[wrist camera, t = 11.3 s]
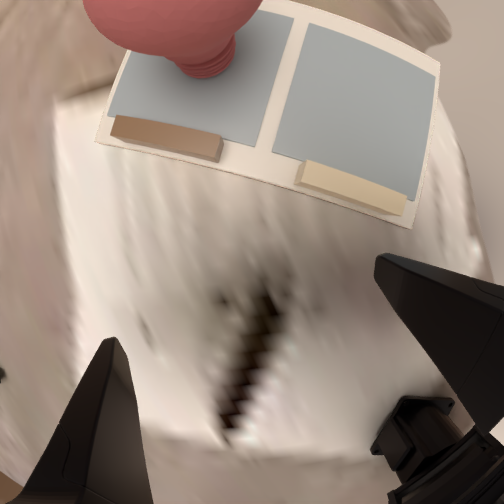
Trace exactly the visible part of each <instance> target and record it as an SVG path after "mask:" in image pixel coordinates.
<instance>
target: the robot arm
mask: <svg viewBox="0 0 504 504" xmlns="http://www.w3.org/2000/svg"><path fill="white" fill-rule="evenodd" d="M374 279H375V281H376V283H377V284H378V286H379V287H380V289H381V290H382V292H383V293H384V295H385V297H386V298H387V300H388V301H389V303H390V304H391V306H392V307H393V309H394V310H395V312H396V313H397V315H398V316H399V317H400V319H401V320H402V321H403V322H404V324H405V325H406V326H407V328H408V329H409V330H410V331H411V333H412V334H413V335H414V337H415V338H416V339H417V341H418V342H419V343H420V345H421V346H422V347H423V349H424V350H425V351H426V353H427V354H428V355H429V357H430V358H431V360H432V361H433V362H434V364H435V365H436V366H437V368H438V369H439V371H440V372H441V373H442V375H443V376H444V378H445V379H446V381H447V382H448V383H449V385H450V386H451V388H452V389H453V391H454V392H455V393H456V394H457V397H458V398H459V400H460V401H461V403H462V404H463V406H464V407H465V409H466V410H467V412H468V413H469V415H470V416H471V418H472V419H473V421H474V422H475V425H474V426H473V428H472V429H471V430H470V431H469V432H468V433H467V434H466V435H465V436H464V435H463V433H462V432H461V431H460V430H459V429H458V427H457V426H456V425H455V424H454V423H453V422H452V421H451V419H450V418H449V417H448V414H449V413H450V411H451V409H452V407H453V406H454V404H455V401H454V400H453V399H452V398H431V397H413V396H405V397H403V398H401V399H400V401H399V403H398V404H397V406H396V408H395V410H394V412H393V413H392V415H391V417H390V418H389V420H388V422H387V424H386V425H385V427H384V429H383V430H382V432H381V433H380V435H379V437H378V438H377V440H376V441H375V443H374V445H373V446H372V448H371V449H370V451H371V454H372V455H384V456H385V458H386V460H387V462H388V464H389V466H390V468H391V470H392V471H395V472H396V474H397V476H398V478H399V479H400V481H401V483H402V485H401V486H400V487H398V488H397V489H395V490H392V491H390V492H389V493H387V495H388V499H389V501H388V504H504V446H503V445H502V444H501V443H500V442H499V441H498V440H497V439H496V438H494V437H493V436H492V435H491V434H490V433H489V432H490V431H491V430H492V429H493V428H494V427H495V426H496V425H497V424H498V422H500V420H501V419H502V418H503V417H504V286H501V285H497V284H493V283H489V282H486V281H482V280H479V279H476V278H473V277H469V276H466V275H463V274H459V273H456V272H453V271H449V270H446V269H442V268H439V267H436V266H432V265H429V264H425V263H422V262H418V261H415V260H411V259H408V258H404V257H401V256H397V255H394V254H390V253H383V254H381V255H378V256H377V257H376V261H375V269H374ZM404 402H405V403H404ZM6 504H154V503H153V499H152V494H151V489H150V484H149V479H148V474H147V468H146V462H145V457H144V450H143V444H142V437H141V430H140V422H139V414H138V406H137V400H136V395H135V391H134V386H133V382H132V377H131V372H130V367H129V362H128V358H127V355H126V353H125V351H124V350H123V348H122V346H121V344H120V342H119V341H118V339H117V338H116V337H111V338H107V339H104V340H103V341H102V343H101V344H100V346H99V348H98V350H97V351H96V353H95V355H94V357H93V359H92V360H91V362H90V364H89V366H88V368H87V369H86V371H85V373H84V375H83V377H82V379H81V380H80V382H79V384H78V386H77V388H76V390H75V392H74V394H73V396H72V398H71V399H70V401H69V403H68V405H67V407H66V409H65V411H64V413H63V415H62V417H61V419H60V421H59V424H58V425H57V427H56V429H55V431H54V434H53V436H52V437H51V439H50V441H49V443H48V445H47V447H46V449H45V451H44V453H43V455H42V456H41V458H40V460H39V462H38V463H37V465H36V467H35V469H34V470H33V472H32V474H31V476H30V477H29V479H28V481H27V483H26V485H25V486H24V488H23V490H22V491H21V493H20V494H19V495H18V496H17V497H16V498H14V499H13V500H12V501H10V502H8V503H6Z"/></svg>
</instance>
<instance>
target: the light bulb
mask: <svg viewBox="0 0 504 504" xmlns="http://www.w3.org/2000/svg"><path fill="white" fill-rule="evenodd" d="M262 1H263V0H83V4H84V8H85V10H86V12H87V15H88V16H89V18H90V20H91V22H92V23H93V24H94V25H95V27H96V28H97V29H98V31H99V32H100V33H102V34H103V35H104V36H105V37H106V38H108V39H109V40H111V41H112V42H114V43H115V44H117V45H119V46H121V47H123V48H126V49H128V50H131V51H134V52H137V53H142V54H147V55H155V56H163V57H165V58H166V59H168V60H170V61H173V62H174V63H175V64H176V65H177V66H178V67H179V68H180V69H181V71H182V72H183V73H185V74H186V75H188V76H190V77H193V78H198V79H199V78H208V77H212V76H215V75H217V74H219V73H220V72H222V71H224V70H225V69H226V68H227V67H228V66H229V64H230V63H231V61H232V60H233V58H234V54H235V46H236V41H235V34H234V33H235V32H237V31H238V30H239V29H240V28H241V27H242V26H243V25H245V24H246V23H247V22H248V21H249V20H250V19H251V17H252V16H253V15H254V13H255V12H256V11H257V9H258V8H259V6H260V4H261V3H262Z"/></svg>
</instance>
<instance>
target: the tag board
mask: <svg viewBox="0 0 504 504" xmlns="http://www.w3.org/2000/svg"><path fill="white" fill-rule="evenodd" d="M234 34H235V41H236V46H235V54H234V58H233V60H232V61H231V63H230V64H229V66H228V67H227V68H226V69H225V70H224V71H222V72H220V73H219V74H217V75H215V76H212V77H208V78H199V79H198V78H193V77H190V76H188V75H186V74H185V73H183V72H182V71H181V69H180V68H179V67H178V66H177V65H176V64H175V63H174V62H173V61H170V60H168V59H166V58H165V57H163V56H155V55H147V54H142V53H137V52H134V51H131V50H127V52H126V55H125V57H124V59H123V62H122V64H121V67H120V69H119V71H118V74H117V76H116V79H115V82H114V84H113V87H112V90H111V92H110V95H109V98H108V101H107V103H106V106H105V109H104V112H103V115H102V118H101V121H100V124H99V128H98V131H97V134H96V137H95V141H94V142H97V143H99V144H105V145H110V146H115V147H120V148H126V149H130V150H135V151H140V152H145V153H150V154H154V155H159V156H163V157H168V158H172V159H176V160H181V161H185V162H189V163H193V164H197V165H202V166H206V167H210V168H214V169H217V170H221V171H225V172H229V173H233V174H237V175H240V176H244V177H248V178H251V179H255V180H259V181H262V182H266V183H269V184H273V185H276V186H279V187H283V188H286V189H290V190H293V191H296V192H300V193H303V194H306V195H309V196H313V197H316V198H319V199H322V200H325V201H328V202H331V203H335V204H338V205H341V206H344V207H347V208H350V209H353V210H356V211H358V212H361V213H364V214H367V215H370V216H373V217H376V218H379V219H381V220H384V221H387V222H390V223H393V224H395V225H398V226H401V227H403V228H406V229H411V230H412V226H413V223H414V219H415V215H416V211H417V207H418V203H419V199H420V195H421V190H422V186H423V181H424V177H425V172H426V167H427V162H428V157H429V151H430V146H431V140H432V133H433V127H434V120H435V113H436V105H437V96H438V86H439V75H440V63H439V62H438V61H436V60H434V59H433V58H431V57H429V56H427V55H426V54H424V53H422V52H420V51H418V50H416V49H414V48H412V47H410V46H408V45H406V44H404V43H402V42H400V41H398V40H396V39H394V38H392V37H390V36H388V35H385V34H383V33H381V32H379V31H376V30H374V29H372V28H369V27H367V26H365V25H362V24H360V23H357V22H354V21H352V20H349V19H346V18H344V17H341V16H338V15H335V14H332V13H329V12H326V11H323V10H320V9H317V8H314V7H310V6H307V5H304V4H300V3H296V2H293V1H289V0H263V1H262V3H261V4H260V6H259V8H258V9H257V11H256V12H255V13H254V15H253V16H252V17H251V19H250V20H249V21H248V22H247V23H246V24H245V25H243V26H242V27H241V28H240V29H239V30H238V31H237V32H235V33H234Z"/></svg>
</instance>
